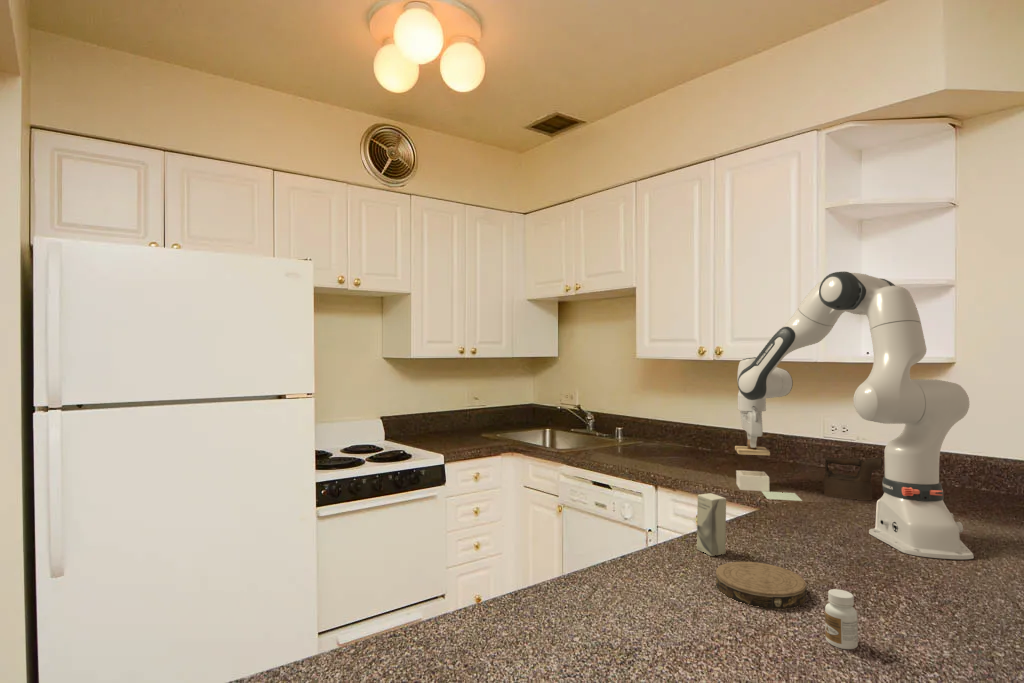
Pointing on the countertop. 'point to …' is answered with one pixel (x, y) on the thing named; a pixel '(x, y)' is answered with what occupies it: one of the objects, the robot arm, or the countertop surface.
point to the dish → (752, 480)
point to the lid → (751, 450)
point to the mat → (781, 496)
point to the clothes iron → (850, 478)
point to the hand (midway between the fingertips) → (752, 446)
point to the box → (711, 524)
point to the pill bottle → (841, 620)
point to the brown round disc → (761, 585)
